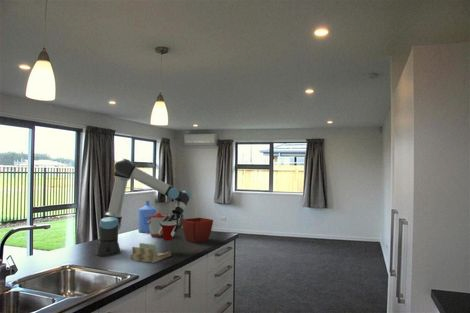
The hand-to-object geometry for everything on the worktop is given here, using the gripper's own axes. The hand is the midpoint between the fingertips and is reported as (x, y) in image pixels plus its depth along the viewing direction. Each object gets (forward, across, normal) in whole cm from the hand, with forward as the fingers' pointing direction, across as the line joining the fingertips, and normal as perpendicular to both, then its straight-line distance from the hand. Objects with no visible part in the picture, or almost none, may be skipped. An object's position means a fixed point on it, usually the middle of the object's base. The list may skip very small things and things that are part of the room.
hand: (165, 234), depth 236 cm
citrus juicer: (-25, +41, -43) cm, 64 cm away
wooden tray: (+19, 0, +2) cm, 20 cm away
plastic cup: (+1, 0, -5) cm, 5 cm away
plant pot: (-23, 0, -40) cm, 46 cm away
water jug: (-35, +62, -53) cm, 89 cm away
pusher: (+21, 0, +5) cm, 21 cm away
